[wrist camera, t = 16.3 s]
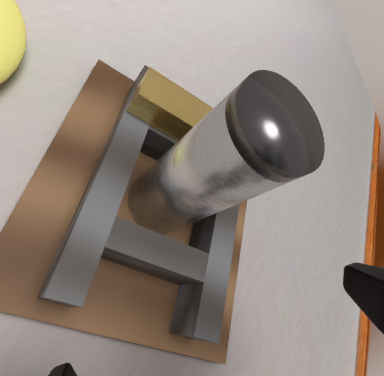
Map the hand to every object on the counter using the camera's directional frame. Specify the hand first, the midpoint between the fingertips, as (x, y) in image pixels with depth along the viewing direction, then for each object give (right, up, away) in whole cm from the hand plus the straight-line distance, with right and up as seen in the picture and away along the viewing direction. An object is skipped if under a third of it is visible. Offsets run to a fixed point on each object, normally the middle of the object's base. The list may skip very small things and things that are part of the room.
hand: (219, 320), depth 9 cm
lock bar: (-1, +8, +12) cm, 14 cm away
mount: (-4, +3, +13) cm, 14 cm away
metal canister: (-3, +3, +12) cm, 13 cm away
